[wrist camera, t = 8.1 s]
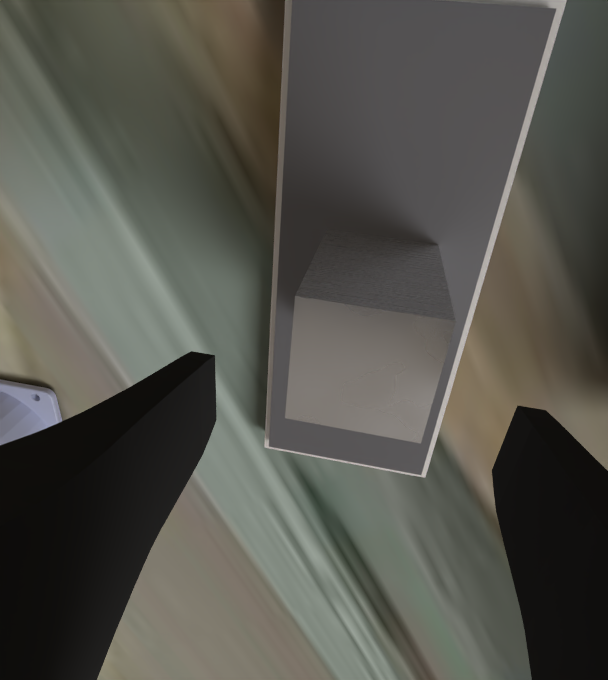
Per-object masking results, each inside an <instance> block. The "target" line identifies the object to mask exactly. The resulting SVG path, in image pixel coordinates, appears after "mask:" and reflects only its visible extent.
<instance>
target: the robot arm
mask: <svg viewBox="0 0 608 680" xmlns="http://www.w3.org/2000/svg"><path fill="white" fill-rule="evenodd" d="M215 422H216V384H215V355H210V354H204V353H198V352H192V351H191V352H189V353H187V354H186V355H184V356H182V357H180V358H179V359H177V360H175V361H173V362H172V363H170V364H168V365H167V366H165V367H163V368H162V369H160V370H158V371H157V372H155V373H153V374H152V375H150V376H148V377H147V378H145V379H143V380H141V381H140V382H138V383H136V384H135V385H133V386H131V387H129V388H128V389H126V390H124V391H122V392H120V393H118V394H116V395H115V396H113V397H111V398H109V399H107V400H105V401H103V402H101V403H99V404H97V405H96V406H94V407H92V408H90V409H88V410H86V411H84V412H82V413H80V414H78V415H75V416H73V417H71V418H69V419H67V420H64V421H62V418H61V414H60V410H59V405H58V401H57V397H56V395H55V393H54V392H53V391H52V390H51V389H48V388H44V387H39V386H33V385H28V384H22V383H17V382H11V381H6V380H1V379H0V680H97V678H98V675H99V672H100V670H101V667H102V665H103V662H104V660H105V657H106V654H107V652H108V649H109V647H110V644H111V642H112V639H113V637H114V634H115V632H116V629H117V627H118V624H119V622H120V620H121V617H122V615H123V612H124V610H125V607H126V605H127V603H128V600H129V598H130V595H131V593H132V591H133V588H134V586H135V584H136V581H137V579H138V577H139V575H140V572H141V570H142V568H143V565H144V563H145V561H146V559H147V556H148V554H149V552H150V550H151V547H152V546H153V544H154V542H155V540H156V538H157V536H158V534H159V532H160V530H161V528H162V526H163V525H164V523H165V521H166V519H167V518H168V516H169V514H170V512H171V510H172V509H173V507H174V505H175V503H176V502H177V500H178V498H179V496H180V494H181V493H182V491H183V489H184V487H185V486H186V484H187V482H188V480H189V478H190V477H191V475H192V473H193V471H194V469H195V468H196V466H197V464H198V462H199V460H200V459H201V457H202V455H203V453H204V450H205V448H206V445H207V443H208V440H209V438H210V435H211V433H212V430H213V427H214V425H215ZM492 476H493V487H494V497H495V505H496V512H497V517H498V521H499V525H500V529H501V533H502V537H503V542H504V546H505V550H506V554H507V558H508V562H509V566H510V570H511V574H512V578H513V581H514V585H515V589H516V593H517V597H518V601H519V605H520V610H521V615H522V619H523V624H524V629H525V635H526V642H527V649H528V656H529V662H530V669H531V676H532V680H608V471H607V470H606V469H605V468H604V467H603V466H602V465H601V464H600V463H599V462H598V461H597V460H596V459H595V458H594V457H593V456H592V455H591V454H590V453H589V452H588V451H587V450H586V449H585V448H584V447H583V446H582V445H581V444H580V443H579V442H578V441H577V440H576V439H575V438H574V437H573V436H572V435H571V434H570V433H569V432H568V431H567V430H566V429H565V428H564V427H563V426H562V425H561V424H560V423H559V422H558V421H557V420H556V419H555V418H554V417H552V416H551V415H550V414H549V413H548V412H547V411H546V410H541V409H535V408H529V407H523V406H517V408H516V411H515V413H514V416H513V418H512V421H511V423H510V426H509V429H508V431H507V434H506V436H505V439H504V441H503V444H502V446H501V449H500V451H499V454H498V456H497V459H496V461H495V464H494V467H493V469H492Z"/></svg>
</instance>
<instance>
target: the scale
mask: <svg viewBox="0 0 608 680" xmlns="http://www.w3.org/2000/svg"><path fill="white" fill-rule="evenodd" d="M566 1H567V0H285V16H284V38H283V59H282V81H281V102H280V124H279V146H278V167H277V189H276V210H275V232H274V254H273V275H272V297H271V318H270V340H269V361H268V383H267V405H266V426H265V448H270V449H276V450H281V451H286V452H292V453H297V454H302V455H308V456H313V457H318V458H323V459H329V460H334V461H339V462H345V463H350V464H355V465H361V466H366V467H371V468H376V469H382V470H387V471H392V472H398V473H403V474H408V475H414V476H419V477H424V478H425V476H426V473H427V470H428V466H429V463H430V460H431V456H432V453H433V449H434V446H435V443H436V439H437V436H438V433H439V429H440V426H441V422H442V419H443V416H444V412H445V409H446V406H447V402H448V399H449V396H450V392H451V389H452V385H453V382H454V379H455V375H456V372H457V369H458V365H459V362H460V358H461V355H462V352H463V348H464V345H465V342H466V338H467V335H468V332H469V328H470V325H471V321H472V318H473V315H474V311H475V308H476V305H477V301H478V298H479V294H480V291H481V288H482V284H483V281H484V278H485V274H486V271H487V268H488V264H489V261H490V257H491V254H492V251H493V247H494V244H495V241H496V237H497V234H498V230H499V227H500V224H501V220H502V217H503V214H504V210H505V207H506V204H507V200H508V197H509V193H510V190H511V187H512V183H513V180H514V177H515V173H516V170H517V166H518V163H519V160H520V156H521V153H522V150H523V146H524V143H525V140H526V136H527V133H528V129H529V126H530V123H531V119H532V116H533V113H534V109H535V106H536V102H537V99H538V96H539V92H540V89H541V86H542V82H543V79H544V76H545V72H546V69H547V65H548V62H549V59H550V55H551V52H552V49H553V45H554V42H555V38H556V35H557V32H558V28H559V25H560V22H561V18H562V15H563V12H564V8H565V5H566ZM327 229H329V230H336V231H343V232H350V233H358V234H365V235H372V236H379V237H387V238H394V239H401V240H408V241H415V242H423V243H430V244H437V245H439V250H440V254H441V258H442V263H443V267H444V271H445V276H446V280H447V284H448V289H449V293H450V297H451V302H452V306H453V310H454V315H455V319H456V323H455V326H454V330H453V333H452V337H451V340H450V344H449V347H448V351H447V354H446V358H445V361H444V364H443V368H442V371H441V375H440V378H439V382H438V385H437V389H436V392H435V396H434V399H433V403H432V406H431V410H430V413H429V417H428V420H427V424H426V427H425V431H424V434H423V438H422V441H421V443H416V442H410V441H405V440H399V439H394V438H389V437H383V436H378V435H373V434H367V433H362V432H357V431H351V430H346V429H340V428H335V427H330V426H324V425H319V424H314V423H308V422H303V421H298V420H292V419H287V418H285V411H286V399H287V387H288V375H289V363H290V351H291V340H292V328H293V316H294V304H295V295H296V293H297V291H298V289H299V287H300V285H301V283H302V281H303V279H304V276H305V274H306V272H307V270H308V268H309V266H310V264H311V262H312V260H313V258H314V256H315V254H316V252H317V249H318V247H319V245H320V243H321V241H322V239H323V237H324V235H325V233H326V231H327Z"/></svg>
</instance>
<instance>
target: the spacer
mask: <svg viewBox="0 0 608 680" xmlns="http://www.w3.org/2000/svg"><path fill="white" fill-rule="evenodd" d="M455 323H456V319H455V315H454V310H453V306H452V302H451V297H450V293H449V289H448V284H447V280H446V276H445V271H444V267H443V263H442V258H441V254H440V250H439V245H437V244H430V243H423V242H415V241H408V240H401V239H394V238H387V237H379V236H372V235H365V234H358V233H350V232H343V231H336V230H329V229H327V231H326V233H325V235H324V237H323V239H322V241H321V243H320V245H319V247H318V249H317V252H316V254H315V256H314V258H313V260H312V262H311V264H310V266H309V268H308V270H307V272H306V274H305V276H304V279H303V281H302V283H301V285H300V287H299V289H298V291H297V293H296V295H295V304H294V316H293V328H292V340H291V351H290V363H289V375H288V387H287V399H286V411H285V418H287V419H292V420H298V421H303V422H308V423H314V424H319V425H324V426H330V427H335V428H340V429H346V430H351V431H357V432H362V433H367V434H373V435H378V436H383V437H389V438H394V439H399V440H405V441H410V442H416V443H421V441H422V438H423V434H424V431H425V427H426V424H427V420H428V417H429V413H430V410H431V406H432V403H433V399H434V396H435V392H436V389H437V385H438V382H439V378H440V375H441V371H442V368H443V364H444V361H445V358H446V354H447V351H448V347H449V344H450V340H451V337H452V333H453V330H454V326H455Z"/></svg>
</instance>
